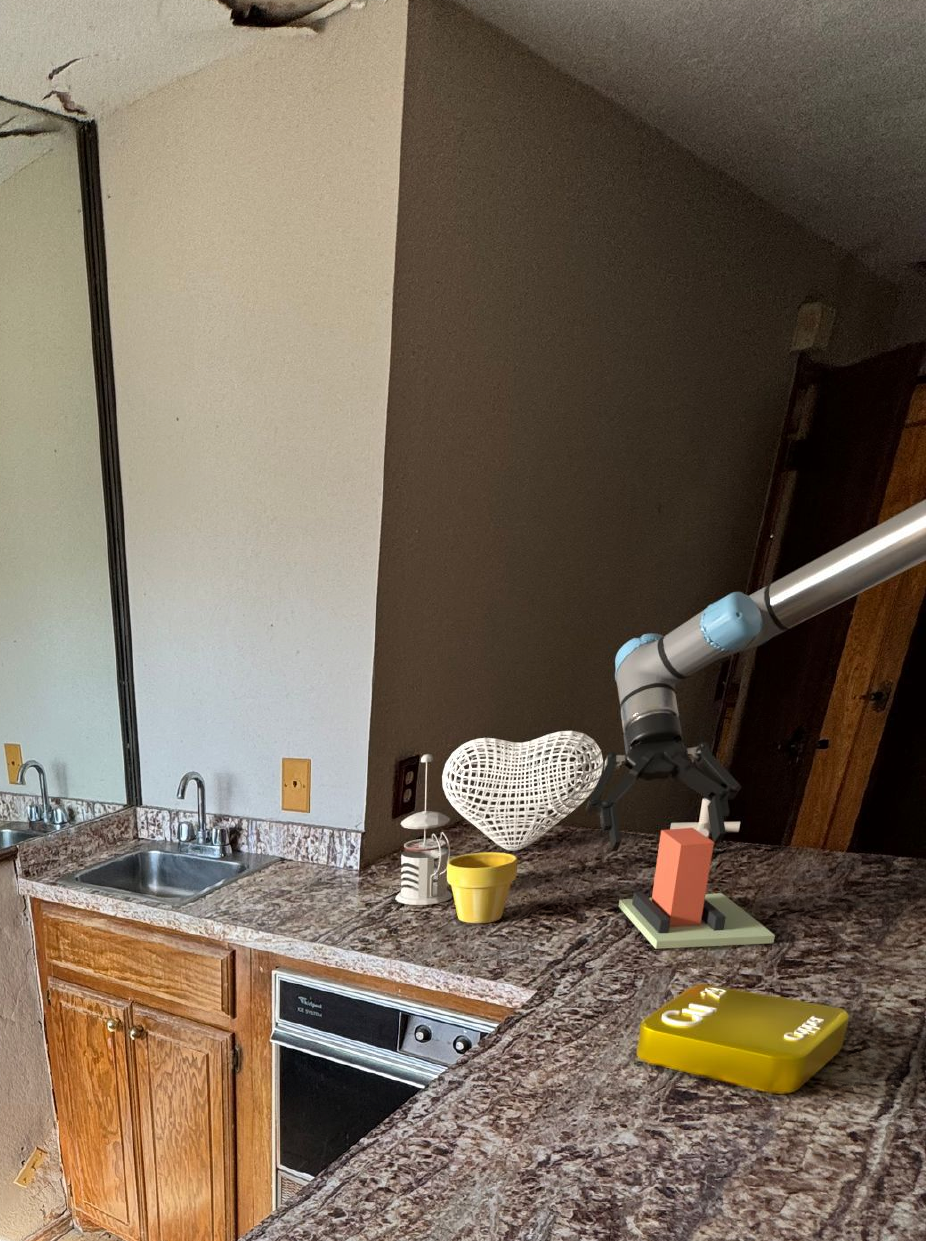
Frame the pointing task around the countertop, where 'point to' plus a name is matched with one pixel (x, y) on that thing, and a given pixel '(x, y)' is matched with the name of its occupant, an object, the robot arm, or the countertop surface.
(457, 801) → the heart
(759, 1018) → the element tile
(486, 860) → the flower pot
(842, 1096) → the countertop surface
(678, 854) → the salmon orange rectangular block
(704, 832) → the pipe connector
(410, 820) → the french press
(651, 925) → the base pad
